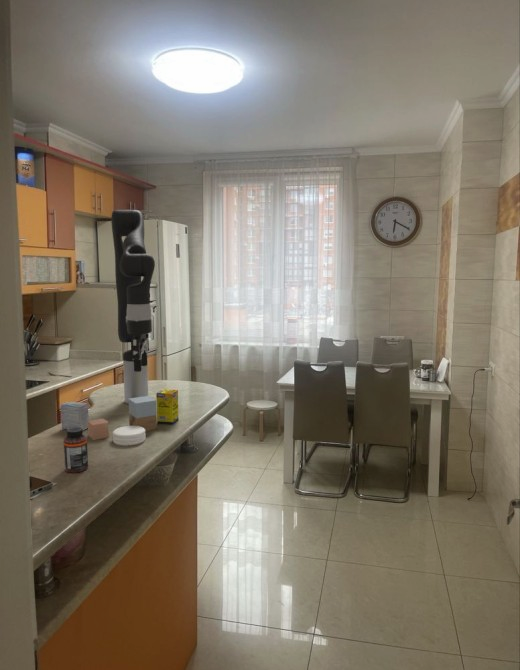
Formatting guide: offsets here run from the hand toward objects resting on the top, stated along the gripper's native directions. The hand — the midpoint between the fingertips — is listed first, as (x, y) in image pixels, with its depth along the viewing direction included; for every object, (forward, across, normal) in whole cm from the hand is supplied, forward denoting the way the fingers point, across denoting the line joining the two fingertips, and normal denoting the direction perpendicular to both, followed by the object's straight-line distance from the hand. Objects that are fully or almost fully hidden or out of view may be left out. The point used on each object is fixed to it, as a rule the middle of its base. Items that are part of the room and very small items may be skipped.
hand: (140, 368), depth 169 cm
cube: (+22, +2, -14) cm, 26 cm away
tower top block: (+17, -6, -2) cm, 18 cm away
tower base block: (+22, -6, -2) cm, 23 cm away
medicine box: (+22, -6, -24) cm, 33 cm away
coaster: (+22, +6, -3) cm, 23 cm away
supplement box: (+22, -14, +6) cm, 27 cm away
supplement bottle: (+22, +28, -12) cm, 38 cm away
